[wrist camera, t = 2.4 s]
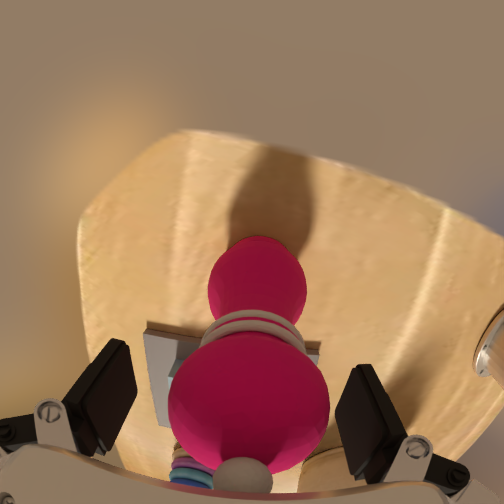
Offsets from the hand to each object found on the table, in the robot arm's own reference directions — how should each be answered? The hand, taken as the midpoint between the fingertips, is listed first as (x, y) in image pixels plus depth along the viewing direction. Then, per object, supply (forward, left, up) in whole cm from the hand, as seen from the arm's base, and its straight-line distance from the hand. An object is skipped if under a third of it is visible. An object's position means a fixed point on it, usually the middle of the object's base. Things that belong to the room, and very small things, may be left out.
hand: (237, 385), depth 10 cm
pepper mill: (-1, 0, -15) cm, 15 cm away
